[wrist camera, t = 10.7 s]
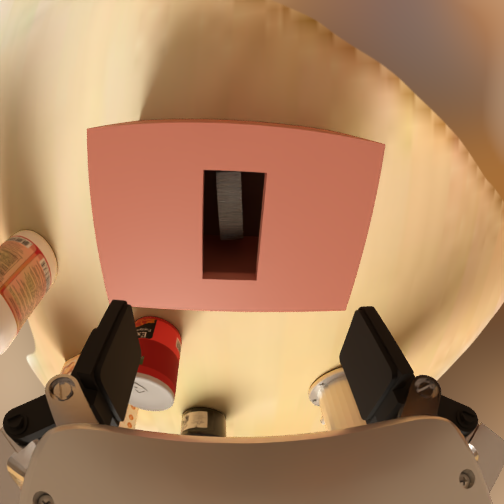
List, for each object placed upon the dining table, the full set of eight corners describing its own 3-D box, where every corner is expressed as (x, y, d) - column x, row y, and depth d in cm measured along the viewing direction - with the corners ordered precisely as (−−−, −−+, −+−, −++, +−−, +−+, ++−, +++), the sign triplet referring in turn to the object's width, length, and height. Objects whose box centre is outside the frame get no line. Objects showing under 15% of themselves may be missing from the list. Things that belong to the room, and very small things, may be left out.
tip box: (311, 247, 34) (345, 310, 23) (143, 241, 32) (109, 304, 21) (329, 130, 28) (385, 144, 17) (139, 120, 25) (86, 128, 15)
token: (238, 159, 28) (240, 215, 30) (218, 160, 27) (221, 216, 30) (240, 171, 22) (243, 238, 25) (215, 172, 22) (220, 240, 25)
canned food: (150, 305, 36) (131, 367, 27) (193, 337, 39) (187, 400, 30) (121, 331, 38) (101, 388, 28) (162, 359, 41) (152, 417, 32)
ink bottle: (196, 400, 47) (194, 456, 37) (235, 413, 50) (238, 465, 40) (174, 418, 50) (170, 467, 40) (209, 429, 54) (210, 476, 43)
